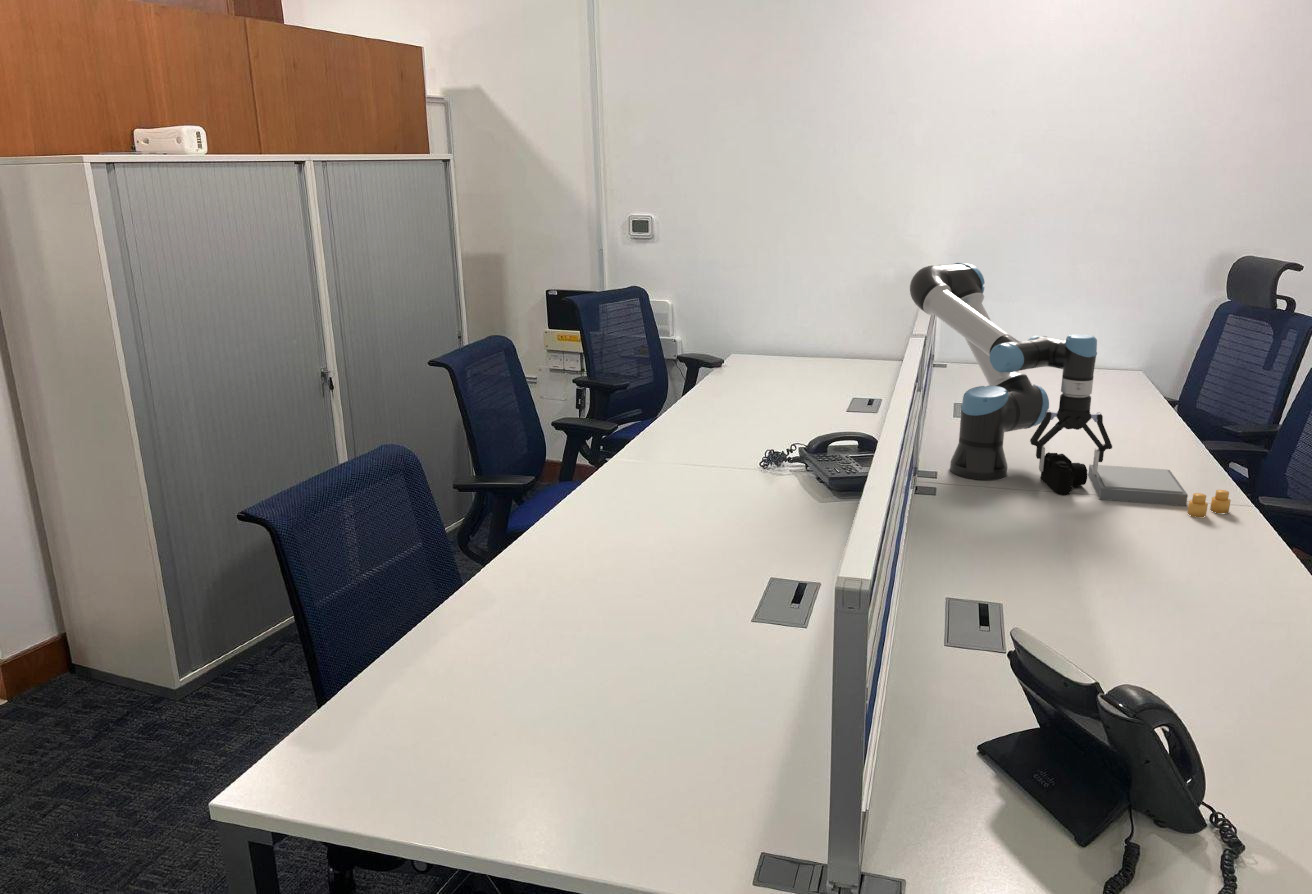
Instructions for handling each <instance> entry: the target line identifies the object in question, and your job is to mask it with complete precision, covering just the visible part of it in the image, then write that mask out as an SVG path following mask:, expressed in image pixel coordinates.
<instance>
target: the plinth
mask: <svg viewBox="0 0 1312 894" xmlns="http://www.w3.org/2000/svg"><path fill="white" fill-rule="evenodd" d="M1092 469H1093V464H1089V467H1088V471H1087V477H1088V478H1089V480H1090V482H1091V484H1092V486H1093V489H1094V490H1095V492H1096V495H1097V497H1098V499H1099V500H1102V501H1114V502H1115V501H1117V502H1129V503H1143V504H1152V505H1153V504H1156V505H1167V506H1180V505H1184V506H1183V507H1186V506H1187V502H1188V497H1189V495H1188V492H1186V490H1185V489H1184V488H1183V486H1182V485H1181V483H1180V482H1179V481H1178V479H1177V478H1176V476H1175V475H1174V474H1173V472H1172V471H1171V470H1170V469H1163V468H1161V469H1160V468H1149V467H1137V466H1135V467H1134V466H1120V465H1108V464H1107V465H1105V464H1103V465H1102V464H1098V470H1097V475H1094V474H1093V472H1092Z"/></svg>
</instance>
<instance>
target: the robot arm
mask: <svg viewBox="0 0 1312 894" xmlns="http://www.w3.org/2000/svg"><path fill="white" fill-rule="evenodd" d="M985 287H986V286H985V278H984V275H983V274H982V272H981V270H980V269H979V268H978V267H977V266H976V265H973V264H971V263H966V262H965V263H964V262H955V263H951V264H939V265H934V264H933V265H928V266H925V267H922V268H921V269H919V270H918V271H916V273H915V274H914V275H913V277H912V278H911V280H910V285H909V295H910V297H911V300H912V301H913V302H914V304H915V306H917V307H918V308H919V309H920V310H921V311H923V312H924V313H925V314H926V315H928V316H929V315H930V316H931V315H932V316H935V317H937V318H938V319H939V320H940V321H942V322H944V323H945V324H946V325H947V326H949V327H950V328H952V329H953V330H954V331H956V333H958V334H960V336H962V337H963V338H964V340H965V341H966V344H967V345H968V347H969V349H970V351H971V352H972V354H973V356H974V358H975V360H976V362H977V363H978V364H977V365H978V366H979V368H980V370H981V372H982V374H983V376H984V377H985V379H986V382H987V383H988V385H986V386H985V385H979V386H975V387H972V388H969V389H968V390H966V391H965V393H963V396H962V402H961V404H960V410H961V411H960V420H959V421H960V422H959V435H958V443H957V445H956V449H955V450H954V453H953V455H952V458H951V460H950V463H949V470H950V472H951V473H953V474H954V475H957V476H959V477H962V478H966V479H973V480H980V481H981V480H983V481H985V480H986V481H990V480H991V481H992V480H998V479H1002V478H1004V477H1006V476H1007V474H1008V462H1007V458H1006V454H1005V451H1004V439H1005V433H1007V432H1013V431H1014V432H1015V431H1018V430H1027V429H1031V428H1032V427H1036V426H1038V427H1037V429H1036V430H1035V432H1034V433H1033V435H1032V436H1031V438H1030V440H1029V443H1030V445H1032V446H1035V447H1036V451H1035V452H1036V453H1035V457H1036V459H1037V460H1039V464H1038V471H1039V472H1040V473H1041V472H1043V466H1044V456H1045V455H1046V447H1045V445H1046V444H1047V443H1048V442H1049V441H1050V440H1051V439H1052V438H1054V437H1055V436H1056V434H1058V433H1059V432H1060V431H1062V430H1063V429H1066V430H1072V429H1073V430H1081V429H1083V430H1084V431H1085V433H1086V434H1087V435H1088V436H1089V437H1090V439H1091V440H1092V441H1093V443H1094V444H1095V446H1096V447H1097V448H1094V452H1093V461H1092V465H1093V469H1092V472H1093V474H1094V475H1097V470H1098V465H1099V463H1103V461H1104V453H1105V451H1107V450H1112V449H1113V444H1112V441H1111V440H1110V437H1109V435H1108V433H1107V429H1106V428H1105V426H1104V422H1103V421H1104V419H1103V417H1104V416H1103V415H1102V412H1099V411H1098V412H1096V413H1091V404H1092V396H1091V395H1092V393H1093V384H1094V372H1095V366H1096V360H1097V355H1098V351H1097V350H1098V347H1097V346H1098V339H1097V338H1096V337H1095V336H1094V335H1090V334H1084V333H1083V334H1082V333H1073V334H1069V335H1067V336H1066V340H1064V339H1059V338H1054V337H1050V336H1046V335H1032V336H1031V337H1030V338H1028V339H1027V340H1023V341H1022V340H1020V341H1019V340H1018V339H1016V338H1015V337H1013V336H1012V335H1010V334H1009V333H1008V332H1006V331H1005V330H1003V329H1002V328H1001V327H999V326H998V325H997V324H995V323H994V322H993V321H992V320H991V318H990V316H989V314H988V313H987V311H986V308H985V306H984V304H983V301H984V299H985V295H984V291H985ZM1043 367H1049V368H1055V369H1061V370H1062V378H1061V383H1060V384H1061V387H1060V392H1061V393H1060V396H1059V403H1058V404H1059V405H1058V410H1057V412H1056V411H1051V410H1049V408H1050V400H1049V395H1048V393H1047V391H1046V390H1045V389H1044V388H1043V387H1042V386H1039V385H1036V384H1032V383H1031V380H1030V379H1029V377H1028V375H1027V374H1026V373H1022V372H1019V371H1024V370H1025V371H1026V370H1030V369H1036V368H1037V369H1038V368H1043ZM1054 418H1056V419H1057V420H1058V421H1057V422H1056V423H1055V424H1054V426H1053V427H1051V428H1050V429H1049V431H1047V432H1046V433H1045V434H1044V435H1043V436H1042V434H1043V433H1044V431H1045V430H1046V429H1047V427H1048V425H1049V424H1050V422H1051V421H1053V420H1054ZM1090 420H1093V421H1094V423H1096V425H1097V427H1098V429H1099V432H1100V434H1101V436H1102V439H1103V441H1104V442H1103V443H1102V442H1101V441H1100V439H1099V438H1098V437H1097V436H1096V434H1095V433H1094V432H1093V431H1092V430H1091V428H1090V427H1089V425H1088V422H1090ZM1041 436H1042V437H1041Z"/></svg>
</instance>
